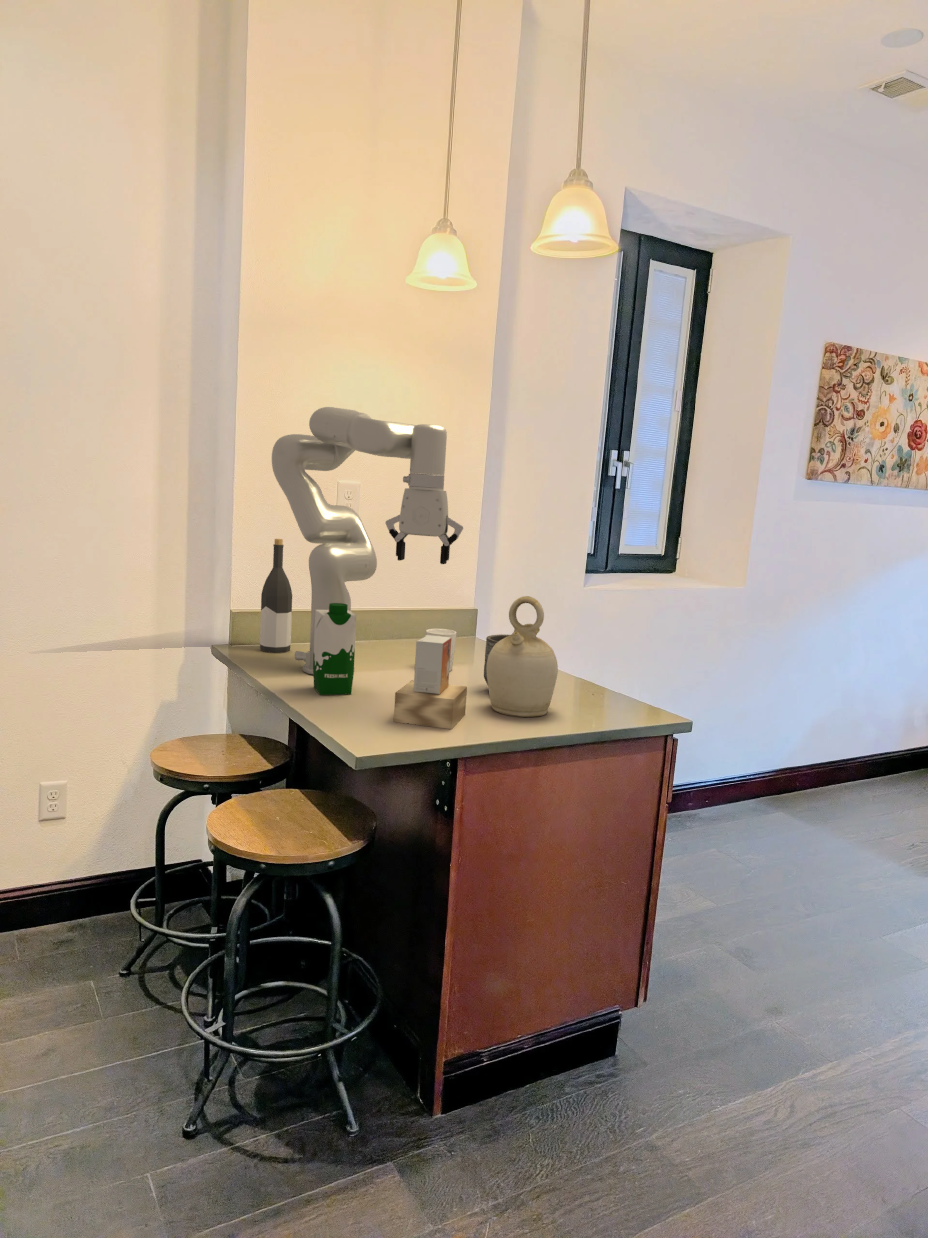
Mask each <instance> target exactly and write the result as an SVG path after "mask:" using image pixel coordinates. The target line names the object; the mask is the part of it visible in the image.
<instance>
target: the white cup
mask: <svg viewBox="0 0 928 1238" xmlns="http://www.w3.org/2000/svg"><path fill="white" fill-rule="evenodd" d="M426 635H432V636H441V637H451V653H450V668H449V672H451V671H452V670H453V665H454V662H453V661H454V658H455V651H456V650H455V649H456V641H457V631H455V630H452V629H448V628H447V629H446V628H429V629H426V630H425V636H426Z"/></svg>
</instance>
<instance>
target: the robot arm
mask: <svg viewBox="0 0 928 1238" xmlns="http://www.w3.org/2000/svg"><path fill="white" fill-rule="evenodd" d="M308 426H309V429H310V430H309V431H310V432H311V434H312V435H310V434H300V433H298V434H297V433H294V434H286V435H283V436H281V437H279V438H278V439H277V440H276V441H275V443H274V445H273V448H272V450H271V468H272V471H273V475H274V477H275V479H276V482H277V483H278V485H279V487H280V489H281V490H282V492H283V494H284V495H285V497H286V499H287V501H288V504H289V506H290V508H291V511H292V513H293V514H292V515H293V516H294V518H295V520H296V524H297V526H298V527H299V528H298V529H299V531H300V533H301V534H302V537H303V538H304V539H305V540H306V542H309V543H312V544H318V545H317V546H315V547H314V548H313V549H312V550H311V551H310V554H309V555H308V569H309V577H310V583H311V586H310V587H311V606H310V607H311V608H310V609H311V610H310V611H311V612H310V635H309V636H310V637H309V650H308V651H306V652H304V651H301V650H296V651H295V652H294V659H295V661H303V662H304V664H303V665H302V671H303V672H304V673H306V674H309V675H313V653H314V630H315V627H314V625H315V610H329V604H331V603H343V604H347V605H348V609H347V610H349V611H351V609H352V600H351V595H350V593H349V589H348V587H347V586H346V584H345V583H346V582H357V581H358V582H359V581H360V582H361V581H365V580H368V579H370V578H371V577H373V576H374V575H375V573H376V570H377V565H378V560H377V556H376V555H377V554H376V552H375V549H374V547H373V544H372V542H371V540H370V537H369V535H368V532H367V530H366V528H365V526H364V523H363V521H362V519H361V517H360V516H359V514H358V513H357V512H356V511H355V510H354V509H353V508H351V507H349V506H346V505H334V504H330V503H329V502H328V501H327V499H326V498H325V496H324V494H323V491H322V489H321V487H320V486H319V484H318V483H317V482H316V481H315V479H314V478H313V477H311V475H309V473H307V472H306V471H316V472H317V471H318V472H319V471H320V472H321V471H323V472H330V471H334V470H336V469H337V468H339V467H340V466H341V465H342V464H344V462H346V460H347V459H348V458H349V457H350V456H351V455H352V454H353V453H354V452H355V451H357V452H360V453H363V454H369V455H373V456H378V457H384V458H398V459H406V460H407V459H408V460H410V462H409V465H410V466H409V473H408V475H407V476H405V475H404V476H403V477H402V482H403V483H406V484H408V488H404V492H403V494H402V495H403V496H402V500H401V504H400V505H401V507H400V511H399V512H400V514H398V515H396V516H394V517H391V518H389V519H386V521H385V525H386V528H387V530H388V533H389V535H390V536H391V537H392V539H394V541H395V544H396V545H395V556H396V557H397V561H403V560H405V558H406V557H405V556H406V542H405V539H406V538H407V537H408V536H409V535H410V536H421V537H438V539H440V541H441V543H442V545H441V546H440V555H439V557H440V559H439V560H440V561H439V563H440V565H446V564H447V562H448V561H449V559H450V549H451V548H450V547H451V545H453V543H455V542H456V541H457V540H458V539H459V537H460V535H461V533H462V532H463V530H464V526H463V525H462V524H460V523H458V522H456V521H455V520H453V519H452V518H450V517H449V504H448V503H449V501H448V494H447V493H448V492H447V490H444V489H445V487H444V486H445V473H446V472H445V471H446V455H447V454H446V453H447V441H448V440H447V437H448V434H447V433H448V432H447V429H446V428H445V427H444V426H442V425H439V424H438V425H437V424H422V423H420V424H409V423H403V422H396V421H388V420H380V419H373V418H372V417H371V416H370V415H368V414H367V413H364V412H359V411H357V410H355V409H354V410H353V409H347V408H341V407H334V406H325V407H319V408H318V409H316V410H315V411H314V412H313V413H312V414H311V415H310V418H309V422H308ZM397 523H398V530H399V531H398V530H397V529H396V527H395V524H397ZM449 526H450V527H451V528H453V529H454V531H453V533H452V534H451V536H449V535H448V531H449Z"/></svg>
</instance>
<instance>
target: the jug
mask: <svg viewBox="0 0 928 1238" xmlns="http://www.w3.org/2000/svg"><path fill="white" fill-rule="evenodd" d="M523 604H529V605H531V606H532V607H533V608H534V609H535V613H536V620H535V622H534V623H526V624H525V623H524V624H522V623H520V622H519V620H518V618H517V612H518V609H519V607H521V605H523ZM542 606H543V605H542V604H541V603H540V602H539V600H537V599H536V598H535V597H533V596H528V595H525V596H524V595H523V596H520V597H519V598H516V599H515V600H514V601H513V602H512V604H511V605H510V608H509V611H508V620H509V623H510V624H511V626H512V627H513V628H514V629H513V631H512V634H509V635H510V636H507V637H505V638H504V639H502V640H500V641H499V642H498V643H496V644H495V645H494V647H493V648H492V650H491V652H490V654H489V656H488V660H487V667H486V670H487V680H488V685H487V687H488V695H489V700H490V704H491V708H492V710H493V711H495V712H497V713H499V714H501V715H504V716H509V717H517V718H518V717H519V718H536V717H541V716H545V715H547V713H548V710H549V707H550V705H551V702H552V698H553V695H554V691H555V687H556V683H557V678H558V674H559V672H558V670H559V669H558V667H559V666H558V660H557V656H556V654H555V652H554V649H553V648H552V647H551V646H550V645H549V644H548V643H547V642H546V641H545V640H543V639H542V638H541V637H538V636H537V635H538V633H539V632H540V628H541V626H542V625H543V623H544V619H545V612H544V608H543V607H542Z"/></svg>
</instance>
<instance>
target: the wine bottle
mask: <svg viewBox="0 0 928 1238" xmlns="http://www.w3.org/2000/svg"><path fill="white" fill-rule="evenodd" d="M283 540H284V539H283V538H274V543H273V553H272V554H273V557H272V560H273V561H272V562H273V563H272V568H271V570H270V572H269V574H268V575H267V577H266V579H265V581H264V584H263V586H262V591H261V600H260V602H261V603H260V628H259V629H260V630H259V631H260V633H259V650H260V651H262V652H265V653H271V654H281V653H282V654H283V653H287V652H290V651H291V643H292V638H291V637H292V615H293V614H292V613H293V612H292V611H293V590H292V587H291V584H290V583H291V582H290V580H289V578H288V576H287V574H286V572H285V570H284V568H283V564H284V563H283V561H284V560H283V559H284V544H283V543H284V541H283Z"/></svg>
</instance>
